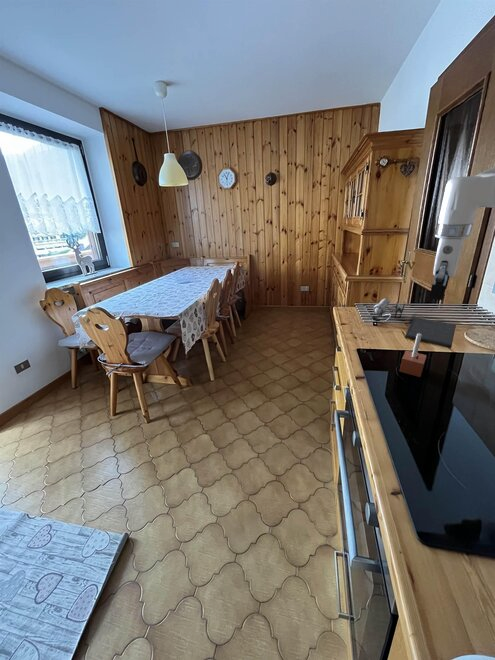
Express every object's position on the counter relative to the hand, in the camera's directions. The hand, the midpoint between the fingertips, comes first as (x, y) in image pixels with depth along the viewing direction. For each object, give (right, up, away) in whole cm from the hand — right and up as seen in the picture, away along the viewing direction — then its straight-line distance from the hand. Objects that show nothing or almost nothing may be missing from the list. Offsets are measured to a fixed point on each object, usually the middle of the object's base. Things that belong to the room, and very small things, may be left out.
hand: (437, 293), depth 80 cm
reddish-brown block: (-1, -23, +11) cm, 26 cm away
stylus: (-1, -23, +11) cm, 26 cm away
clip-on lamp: (+9, -4, +48) cm, 49 cm away
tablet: (+20, -11, +33) cm, 40 cm away
